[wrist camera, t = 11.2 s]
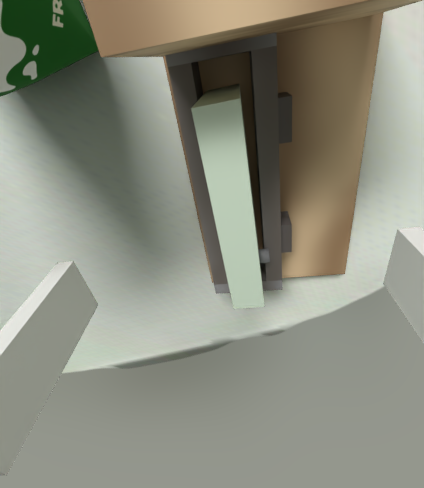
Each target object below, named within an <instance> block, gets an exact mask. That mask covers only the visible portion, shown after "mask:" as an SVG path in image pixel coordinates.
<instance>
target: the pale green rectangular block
mask: <svg viewBox="0 0 424 488" xmlns="http://www.w3.org/2000/svg"><path fill="white" fill-rule="evenodd" d="M191 110H192V115H193V120H194V125H195V129H196V134H197V139H198V143H199V148H200V153H201V158H202V162H203V167H204V172H205V177H206V181H207V186H208V191H209V195H210V200H211V205H212V210H213V214H214V219H215V224H216V228H217V233H218V238H219V243H220V247H221V252H222V257H223V261H224V266H225V271H226V276H227V280H228V285H229V290H230V294H231V299H232V304H233V309H241V308H255V307H265V306H264V296H263V287H262V277H261V268H260V263H268V262H270V258H269V250H268V248H267V249H258V240H257V231H256V223H255V214H254V205H253V197H252V188H251V180H250V171H249V163H248V154H247V145H246V137H245V128H244V120H243V111H242V102H241V94H240V85H239V84H235V85H230V86H225V87H221V88H216V89H211V90H207V91H206V92H205V93H204V95H203V96H202V97H201V98H200V99H199V100H198V101H197V102H196V104H195V105H194V106H193V107H192V108H191Z"/></svg>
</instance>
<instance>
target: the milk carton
mask: <svg viewBox="0 0 424 488" xmlns="http://www.w3.org/2000/svg"><path fill="white" fill-rule="evenodd" d="M97 51H99V50H98V46H97V43H96V40H95V37H94V34H93V31H92V29H91V27H90V24H89V22H88V20H87V17H86V15H85V13H84V11H83V8H82V6H81V4H80V2H79V0H0V96H3V95H6V94H9V93H11V92H14V91H16V90H19V89H21V88H24V87H26V86H28V85H31V84H33V83H35V82H37V81H39V80H41V79H43V78H45V77H47V76H49V75H51V74H53V73H55V72H57V71H59V70H61V69H63V68H65V67H67V66H69V65H71V64H73V63H75V62H77V61H79V60H81V59H83V58H84V57H86V56H88V55H90V54H93V53H95V52H97Z"/></svg>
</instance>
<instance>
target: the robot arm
mask: <svg viewBox="0 0 424 488" xmlns="http://www.w3.org/2000/svg"><path fill="white" fill-rule="evenodd" d="M383 284H384V285H385V287H386V288H387V290H388V291H389V293H390V294H391V296H392V297H393V299H394V300H395V302H396V303H397V305H398V306H399V308H400V309H401V311H402V312H403V314H404V315H405V317H406V318H407V320H408V321H409V323H410V324H411V326H412V327H413V329H414V330H415V332H416V333H417V334H418V336H419V338H420V339H421V341H422V342H423V344H424V230H423V229H422V228H421V227H411V228H401V229H397V233H396V237H395V240H394V244H393V248H392V252H391V256H390V260H389V264H388V267H387V271H386V275H385V279H384V283H383ZM97 306H98V303H97V302H96V300H95V298H94V296H93V295H92V293H91V291H90V289H89V288H88V286H87V284H86V282H85V281H84V279H83V277H82V275H81V274H80V272H79V270H78V268H77V267H76V265H75V263H74V261H70V262H59V263H57V264H56V265H55V266H54V267H53V269H52V270H51V271H50V272H49V273H48V275H47V276H46V277H45V278H44V279H43V281H42V282H41V283H40V284H39V285H38V286H37V288H36V289H35V290H34V291H33V292H32V294H31V295H30V296H29V297H28V298H27V299H26V301H25V302H24V303H23V304H22V305H21V307H20V308H19V309H18V310H17V311H16V313H15V314H14V315H13V316H12V317H11V318H10V320H9V321H8V322H7V323H6V324H5V326H4V327H3V328H2V329H1V330H0V475H7V474H8V472H9V470H10V468H11V466H12V465H13V463H14V461H15V459H16V457H17V455H18V453H19V452H20V450H21V448H22V446H23V444H24V442H25V440H26V438H27V437H28V435H29V433H30V431H31V429H32V427H33V425H34V424H35V422H36V420H37V418H38V416H39V414H40V412H41V410H42V409H43V407H44V405H45V403H46V401H47V399H48V397H49V396H50V394H51V392H52V390H53V388H54V386H55V384H56V383H57V381H58V378H59V377H60V375H61V373H62V371H63V369H64V368H65V366H66V364H67V362H68V360H69V358H70V356H71V355H72V353H73V351H74V349H75V347H76V345H77V343H78V342H79V340H80V338H81V336H82V334H83V332H84V330H85V328H86V327H87V325H88V323H89V321H90V319H91V317H92V315H93V314H94V312H95V310H96V308H97Z"/></svg>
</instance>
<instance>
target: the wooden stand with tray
mask: <svg viewBox="0 0 424 488" xmlns="http://www.w3.org/2000/svg"><path fill="white" fill-rule="evenodd" d="M419 1H422V0H83V3H84V6H85V9H86V13H87V16H88V19H89V22H90V25H91V28H92V31H93V34H94V37H95V40H96V43H97V46H98V50H99V53H100V56H101V57H163V58H164V63H165V68H166V72H167V77H168V81H169V86H170V91H171V95H172V100H173V104H174V109H175V114H176V118H177V123H178V127H179V132H180V137H181V141H182V146H183V150H184V155H185V160H186V164H187V169H188V173H189V178H190V183H191V187H192V192H193V196H194V201H195V206H196V210H197V215H198V219H199V224H200V229H201V233H202V238H203V242H204V247H205V251H206V256H207V261H208V265H209V270H210V274H211V279H212V283H214V286H215V291H216V293H230V290H229V285H228V280H227V276H226V271H225V266H224V261H223V257H222V252H221V247H220V243H219V238H218V233H217V228H216V224H215V219H214V214H213V210H212V205H211V200H210V195H209V191H208V186H207V181H206V177H205V172H204V167H203V162H202V158H201V153H200V148H199V143H198V139H197V134H196V129H195V125H194V120H193V115H192V110H191V108H192V107H193V106H194V105H195V104H196V102H197V101H198V100H199V99H200V98H201V97H202V96H203V95H204V93H205V92H206V91H207V90H211V89H216V88H221V87H225V86H230V85H235V84H239V85H240V94H241V102H242V111H243V120H244V128H245V137H246V145H247V154H248V163H249V171H250V180H251V188H252V197H253V205H254V214H255V223H256V231H257V240H258V249H267V248H268V250H269V258H270V262H268V263H260V268H261V277H262V287H263V291H265V290H282V278H289V277H304V276H319V275H335V274H345V269H346V262H347V256H348V249H349V242H350V235H351V229H352V222H353V215H354V208H355V201H356V195H357V188H358V181H359V174H360V168H361V161H362V154H363V147H364V140H365V134H366V127H367V120H368V113H369V107H370V100H371V93H372V86H373V79H374V73H375V66H376V59H377V52H378V46H379V39H380V32H381V25H382V18H383V12H385V11H389V10H392V9H395V8H399V7H402V6H405V5H409V4H412V3H415V2H419Z"/></svg>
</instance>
